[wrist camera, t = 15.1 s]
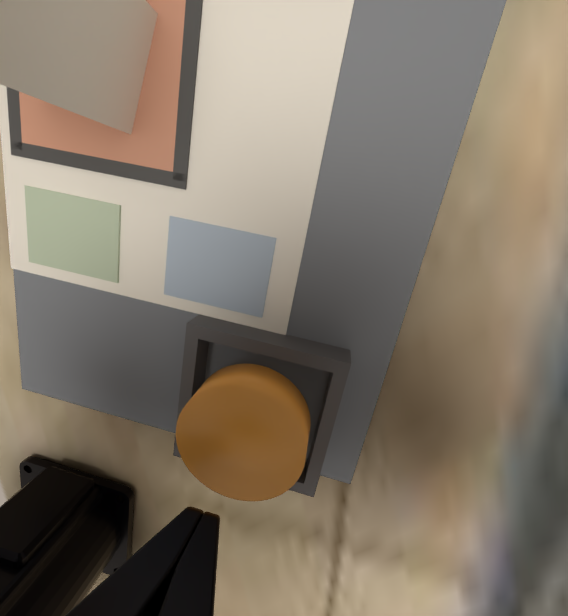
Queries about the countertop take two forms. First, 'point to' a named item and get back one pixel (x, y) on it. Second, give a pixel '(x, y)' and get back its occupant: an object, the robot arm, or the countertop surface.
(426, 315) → the countertop surface
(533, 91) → the countertop surface
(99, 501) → the robot arm
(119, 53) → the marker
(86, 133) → the grey flat board
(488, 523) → the countertop surface
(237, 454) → the button
